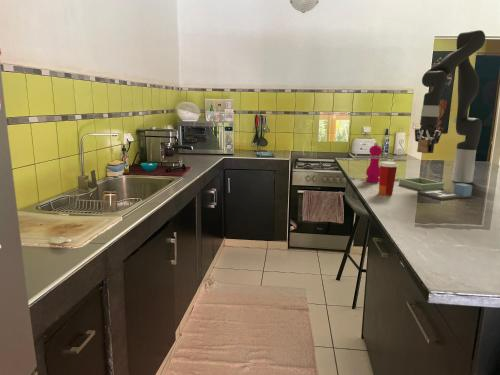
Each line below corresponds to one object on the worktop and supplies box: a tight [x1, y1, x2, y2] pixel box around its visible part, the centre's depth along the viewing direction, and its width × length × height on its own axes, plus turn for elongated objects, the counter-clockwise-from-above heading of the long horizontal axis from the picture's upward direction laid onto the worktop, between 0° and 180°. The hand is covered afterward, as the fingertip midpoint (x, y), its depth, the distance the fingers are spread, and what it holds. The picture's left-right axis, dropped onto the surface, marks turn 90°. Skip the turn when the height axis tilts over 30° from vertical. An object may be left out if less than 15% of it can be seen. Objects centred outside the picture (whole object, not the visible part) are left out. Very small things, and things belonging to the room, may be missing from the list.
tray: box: [398, 177, 445, 191], centre depth 189 cm, size 14×14×3 cm
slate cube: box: [452, 182, 473, 198], centre depth 174 cm, size 5×5×5 cm
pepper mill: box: [365, 142, 383, 183], centre depth 197 cm, size 7×7×20 cm
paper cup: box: [378, 161, 398, 196], centre depth 171 cm, size 8×8×14 cm
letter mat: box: [416, 189, 464, 201], centre depth 172 cm, size 13×13×1 cm
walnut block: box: [416, 138, 435, 154], centre depth 185 cm, size 5×5×6 cm
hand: (425, 151), depth 185 cm, fingers closed on walnut block, 5 cm apart
